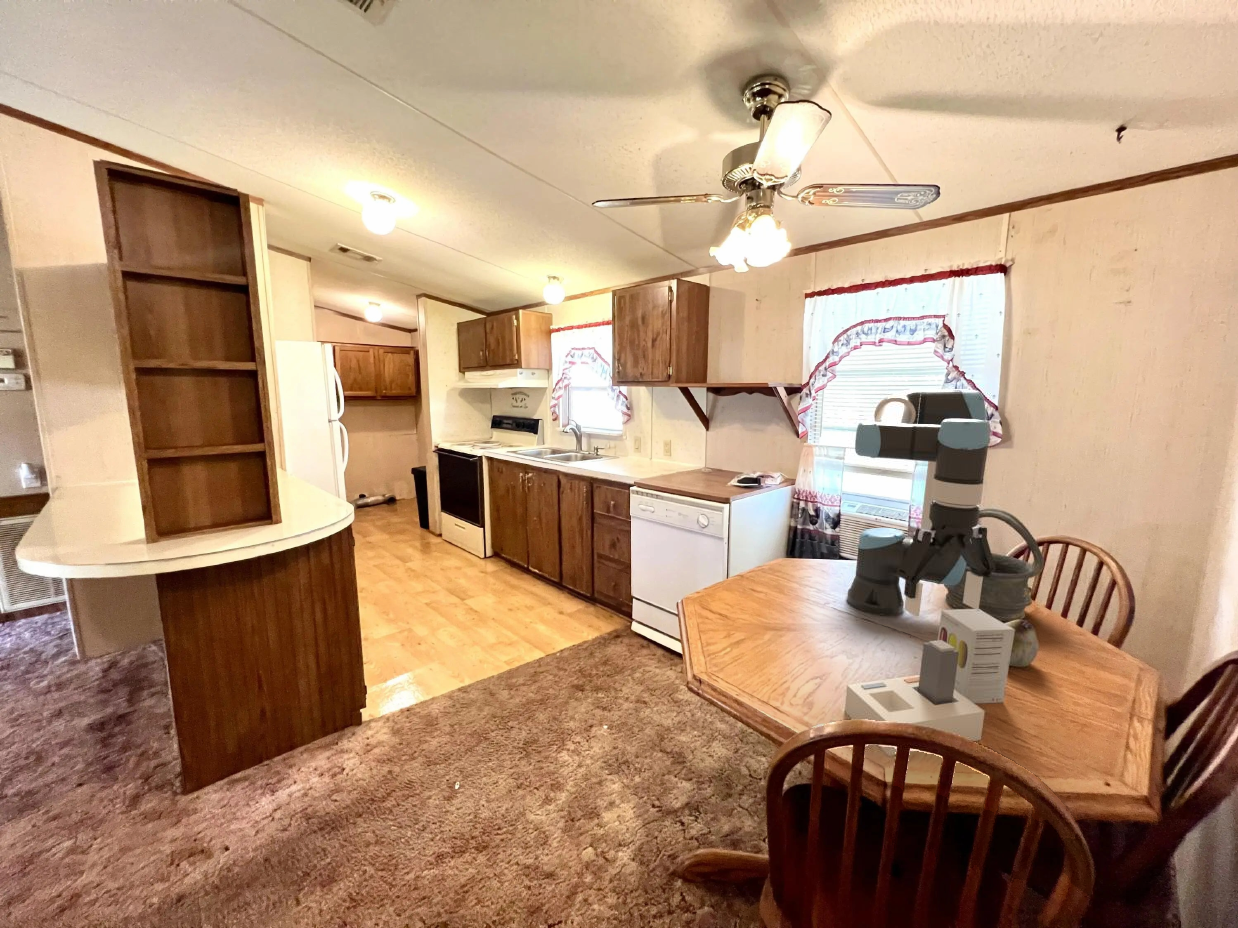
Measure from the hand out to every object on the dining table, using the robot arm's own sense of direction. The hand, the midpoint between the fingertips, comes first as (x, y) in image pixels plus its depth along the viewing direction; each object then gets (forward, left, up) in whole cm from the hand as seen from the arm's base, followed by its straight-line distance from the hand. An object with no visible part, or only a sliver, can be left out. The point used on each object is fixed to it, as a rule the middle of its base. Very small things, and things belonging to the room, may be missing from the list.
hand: (941, 609), depth 92 cm
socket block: (+6, +2, -23) cm, 24 cm away
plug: (+1, +2, -20) cm, 20 cm away
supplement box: (-15, -5, -23) cm, 28 cm away
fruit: (-35, -12, -23) cm, 44 cm away
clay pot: (-56, -37, -23) cm, 72 cm away
